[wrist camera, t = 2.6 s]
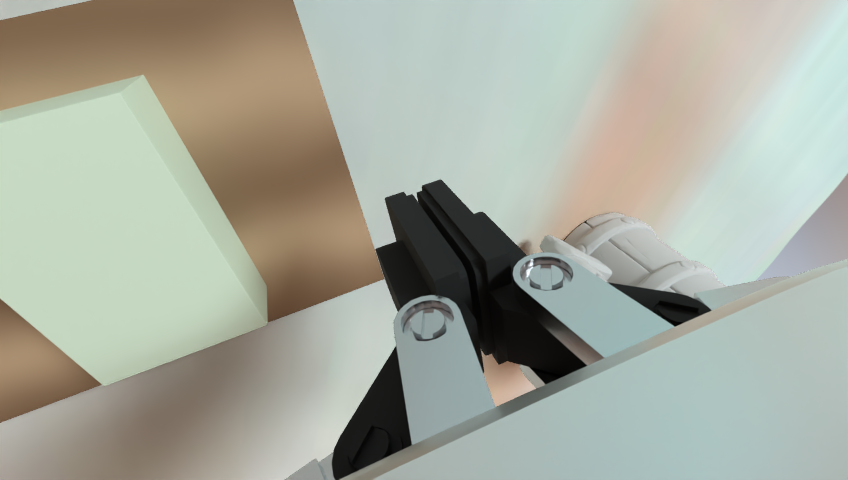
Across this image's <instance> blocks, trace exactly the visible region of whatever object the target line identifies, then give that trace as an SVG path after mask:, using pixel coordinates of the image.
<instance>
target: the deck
mask: <svg viewBox="0 0 848 480" xmlns="http://www.w3.org/2000/svg"><path fill="white" fill-rule="evenodd" d="M140 75H144V76H145V78H146V80H147V82H148V83H149V85H150V87H151V88H152V90H153V92H154V94H155V95H156V97H157V99H158V100H159V102H160V104H161V106H162V107H163V109H164V111H165V112H166V114H167V116H168V118H169V119H170V121H171V123H172V124H173V126H174V128H175V130H176V131H177V133H178V135H179V136H180V138H181V140H182V142H183V143H184V145H185V147H186V148H187V150H188V152H189V154H190V155H191V157H192V159H193V160H194V162H195V164H196V166H197V167H198V169H199V171H200V172H201V174H202V176H203V177H204V179H205V181H206V183H207V184H208V186H209V188H210V189H211V191H212V193H213V195H214V196H215V198H216V200H217V201H218V203H219V205H220V207H221V208H222V210H223V212H224V213H225V215H226V217H227V219H228V220H229V222H230V224H231V225H232V227H233V229H234V231H235V232H236V234H237V236H238V237H239V239H240V241H241V243H242V244H243V246H244V248H245V249H246V251H247V253H248V255H249V256H250V258H251V260H252V261H253V263H254V265H255V267H256V268H257V270H258V272H259V273H260V275H261V277H262V279H263V280H264V282H265V284H266V285H267V322H271V321H273V320H276V319H279V318H281V317H284V316H287V315H289V314H292V313H295V312H297V311H300V310H303V309H305V308H308V307H311V306H313V305H316V304H319V303H321V302H324V301H327V300H329V299H332V298H335V297H337V296H340V295H343V294H345V293H348V292H351V291H353V290H356V289H359V288H361V287H364V286H367V285H369V284H372V283H375V282H377V281H380V280H383V279H384V276H383V273H382V270H381V267H380V264H379V261H378V258H377V255H376V252H375V249H374V246H373V243H372V240H371V237H370V234H369V231H368V228H367V225H366V222H365V219H364V216H363V212H362V209H361V206H360V203H359V200H358V197H357V194H356V191H355V188H354V185H353V182H352V179H351V176H350V173H349V170H348V167H347V164H346V161H345V158H344V155H343V152H342V148H341V145H340V142H339V139H338V136H337V133H336V130H335V127H334V124H333V121H332V118H331V115H330V112H329V109H328V106H327V103H326V100H325V97H324V94H323V91H322V88H321V84H320V81H319V78H318V75H317V72H316V69H315V66H314V63H313V60H312V57H311V54H310V51H309V48H308V45H307V42H306V39H305V36H304V33H303V30H302V27H301V24H300V21H299V17H298V14H297V11H296V8H295V5H294V2H293V0H92V1H87V2H82V3H78V4H73V5H69V6H64V7H59V8H55V9H50V10H46V11H41V12H36V13H32V14H27V15H23V16H18V17H13V18H9V19H4V20H0V111H1V110H5V109H9V108H13V107H17V106H21V105H25V104H29V103H33V102H37V101H41V100H45V99H49V98H53V97H57V96H61V95H65V94H68V93H72V92H76V91H80V90H84V89H88V88H92V87H96V86H100V85H104V84H108V83H112V82H116V81H120V80H124V79H128V78H132V77H136V76H140ZM100 385H102V384H101V383H100V382H98V381H97V380H96V379H95V378H94V377H93V376H91V375H90V374H89V373H88V372H87V371H85V370H84V369H83V368H82V367H81V366H80V365H78V364H77V363H76V362H75V361H74V360H72V359H71V358H70V357H69V356H68V355H67V354H65V353H64V352H63V351H62V350H61V349H59V348H58V347H57V346H56V345H55V344H54V343H52V342H51V341H50V340H49V339H48V338H46V337H45V336H44V335H43V334H42V333H41V332H39V331H38V330H37V329H36V328H35V327H33V326H32V325H31V324H30V323H29V322H27V321H26V320H25V319H24V318H23V317H22V316H20V315H19V314H18V313H17V312H16V311H14V310H13V309H12V308H11V307H10V306H9V305H7V304H6V303H5V302H4V301H3V300H1V299H0V423H1V422H3V421H6V420H9V419H11V418H14V417H17V416H19V415H22V414H25V413H27V412H30V411H33V410H35V409H38V408H41V407H43V406H46V405H49V404H51V403H54V402H57V401H59V400H62V399H65V398H68V397H70V396H73V395H76V394H78V393H81V392H84V391H86V390H89V389H92V388H94V387H97V386H100Z"/></svg>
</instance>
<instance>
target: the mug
mask: <svg viewBox="0 0 848 480" xmlns="http://www.w3.org/2000/svg"><path fill="white" fill-rule="evenodd" d="M540 248H541V250H542V251H543V252H549V253H556V254H561V255H564V256H566V257H568V258H570V259H572V260H573V261H575V262H576V263H578V264H579V265H581V266H582V267H584V268H585V269H587V270H589V271H590V272H592V273H593V274H595V275H596V276H598V277H599V278H601V279H602V280H604V281H605V282H609V283H616V284H622V285H629V286H635V287H642V288H648V289H654V290H661V291H667V292H674V293H679V294H683V295H687V296H689V297H692V298H693V297H694V293H697V292H703V291H708V290H713V289H718V288H723V287H727V286H725V285H724V284H722V283H721V282H720V281H718V279H717V276H716V274H715V273H714V272H713V271H712V270H711V269H709V268H708V267H706V266H704V265H703V264H701V263H699V262H697V261H690V260H688V259H687V258H685V257H684V256H682V255H681V254H680V253H678V252H677V251H675V250H674V249H672V248H671V247H670V246H668V245H667V244H665V243H664V242H662V241H661V240H660V239H658V238H657V235H656V233H655V232H654V230H653V229H652V228H651V227H650V226H649V225H648V224H646V223H645V222H643V221H641V220H639V219H637V218H634V217H626V216H625V215H623V214H620V213H614V212H612V213H607V214H602V215H598V216H595V217H592V218H590V219H588V220H587V222H586V224H585V223H582V224H581V225H580V226H578V227H577V228H576V229H575V230H573V231H572V232H571V233H570V235H569V236H568V237H567V238H566V239H565V240H564V241H562V240H560V239H558V238H555V237H553V236H551V235H547V236H545V237H544V239H543V241H542V243H541V245H540Z"/></svg>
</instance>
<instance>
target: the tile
mask: <svg viewBox="0 0 848 480" xmlns="http://www.w3.org/2000/svg"><path fill="white" fill-rule="evenodd" d="M0 299H1V300H3V301H4V302H5V303H6V304H7V305H9V306H10V307H11V308H12V309H13V310H14V311H16V312H17V313H18V314H19V315H20V316H22V317H23V318H24V319H25V320H26V321H27V322H29V323H30V324H31V325H32V326H33V327H35V328H36V329H37V330H38V331H39V332H41V333H42V334H43V335H44V336H45V337H46V338H48V339H49V340H50V341H51V342H52V343H54V344H55V345H56V346H57V347H58V348H59V349H61V350H62V351H63V352H64V353H65V354H67V355H68V356H69V357H70V358H71V359H72V360H74V361H75V362H76V363H77V364H78V365H80V366H81V367H82V368H83V369H84V370H85V371H87V372H88V373H89V374H90V375H91V376H93V377H94V378H95V379H96V380H97V381H98V382H100V383H101V384H102V385H103V386H107V385H109V384H112V383H115V382H117V381H120V380H123V379H125V378H128V377H131V376H133V375H136V374H139V373H141V372H144V371H146V370H149V369H152V368H154V367H157V366H160V365H162V364H165V363H168V362H170V361H173V360H176V359H178V358H181V357H184V356H186V355H189V354H192V353H194V352H197V351H200V350H202V349H205V348H208V347H210V346H213V345H216V344H218V343H221V342H224V341H226V340H229V339H232V338H234V337H237V336H240V335H242V334H245V333H248V332H250V331H253V330H256V329H258V328H261V327H264V326H266V325H268V322H267V285H266V284H265V282H264V280H263V279H262V277H261V275H260V273H259V272H258V270H257V268H256V267H255V265H254V263H253V261H252V260H251V258H250V256H249V255H248V253H247V251H246V249H245V248H244V246H243V244H242V243H241V241H240V239H239V237H238V236H237V234H236V232H235V231H234V229H233V227H232V225H231V224H230V222H229V220H228V219H227V217H226V215H225V213H224V212H223V210H222V208H221V207H220V205H219V203H218V201H217V200H216V198H215V196H214V195H213V193H212V191H211V189H210V188H209V186H208V184H207V183H206V181H205V179H204V177H203V176H202V174H201V172H200V171H199V169H198V167H197V166H196V164H195V162H194V160H193V159H192V157H191V155H190V154H189V152H188V150H187V148H186V147H185V145H184V143H183V142H182V140H181V138H180V136H179V135H178V133H177V131H176V130H175V128H174V126H173V124H172V123H171V121H170V119H169V118H168V116H167V114H166V112H165V111H164V109H163V107H162V106H161V104H160V102H159V100H158V99H157V97H156V95H155V94H154V92H153V90H152V88H151V87H150V85H149V83H148V82H147V80H146V78H145V76H144V75H140V76H136V77H132V78H128V79H124V80H120V81H116V82H112V83H108V84H104V85H100V86H96V87H92V88H88V89H84V90H80V91H76V92H72V93H68V94H65V95H61V96H57V97H53V98H49V99H45V100H41V101H37V102H33V103H29V104H25V105H21V106H17V107H13V108H9V109H5V110H1V111H0Z"/></svg>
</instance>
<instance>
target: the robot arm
mask: <svg viewBox="0 0 848 480" xmlns="http://www.w3.org/2000/svg"><path fill="white" fill-rule="evenodd" d="M417 198H418V201H417V200H416V199H415V197H414V196H413V195H412V194H411V195H408V196H406V194H405V193H404V192H401V193H398V194H395V195H392V196H389V197H386V198H385V201H386V205H387V209H388V213H389V216H390V220H391V223H392V227H393V230H394V234H395V237H396V241H397V242H394V243H391V244H388V245H385V246H382V247H380V248H377V249H376V253H377V256H378V259H379V262H380V265H381V269H382V272H383V274H384V277H385V280H386V283H387V286H388V288H389V291H390V294H391V296H392V299H393V301H394V304H395V306H396V309H397V311H398V313H397V315H396V317H395V320H394V334H395V340H396V347H395V348H394V350H393V352H392V353H391V355H390V356H389V358H388V360H387V361H386V363H385V365H384V366H383V368H382V369H381V371H380V373H379V374H378V376H377V377H376V379H375V381H374V382H373V384H372V386H371V387H370V389H369V390H368V392H367V394H366V395H365V397H364V399H363V400H362V402H361V403H360V405H359V407H358V408H357V410H356V412H355V413H354V415H353V416H352V418H351V420H350V421H349V423H348V425H347V426H346V428H345V429H344V431H343V433H342V434H341V436H340V438H339V440H338V442H337V444H336V446H335V448H334V452H333V453H331V454H330V455H329V456H327V457H326V458H324V459H323V460H322V461H320V462H318V461H317V459H316V458H315V459H314V460H312V461H311V462H309V463H308V464H307V465H305V466H304V467H302V468H301V469H299V470H298V471H296V472H295V473H294V474H292V475H291V476H289V477H288V478H286V479H285V480H848V259H846V260H842V261H839V262H835V263H832V264H828V265H824V266H820V267H817V268H814V269H812V270H809V271H806V272H803V273H800V274H798V275H795V276H792V277H774V278H769V279H764V280H759V281H754V282H748V283H743V284H738V285H733V286H728V287H723V288H718V289H713V290H708V291H703V292H697V293H694V297H693V298H692V297H689V296H687V295H683V294H679V293H674V292H667V291H661V290H654V289H648V288H642V287H635V286H629V285H622V284H616V283H609V282H605V281H604V280H602V279H601V278H599V277H598V276H596V275H595V274H593V273H592V272H590V271H589V270H587V269H585V268H584V267H582V266H581V265H579V264H578V263H576V262H575V261H573V260H572V259H570V258H568V257H566V256H564V255H561V254H556V253H549V252H541V253H535V254H531V255H528V256H527V255H526V254H525V253H524V252H523V251H522V250H521V249H520V248H519V247H518V246H517V245H516V244H515V243H514V242H513V241H512V240H511V239H510V238H509V237H508V236H507V235H506V234H505V233H504V232H503V231H502V230H501V229H500V228H499V227H498V226H497V225H496V224H495V223H494V222H493V221H492V220H491V219H490V218H489V217H488V216H487V215H486V214H485V213H483V212H478V213H475V214H473V213H472V212H471V211H470V210H469V209H468V207H467V206H466V205H465V204H464V203H463V202H462V201H461V200H460V199H459V198H458V197H457V196H456V195H455V194H454V193H453V192H452V191H451V189H450V188H449V187H448V186H447V185H446V184H445V183H444V182H443V181H442V180H437V181H434V182H431V183H428V184H425V185H422V191H420V192H417ZM418 202H419V203H418ZM481 350H482V351H483V353H484V354H485V355H486V356H487V355H489V354H492V355H493V356H494V358H495V360H496V361H497V363H498V364H501V363H504V362H506V361H509V362H513V363H516V364H520V368H521V371H522V372H523V374H524V375H525V377H526V378H527V379H528V380H529V381H530V382H531V383H532V384H533V385H534V386H535V387H536V389H535V390H532V391H530V392H528V393H526V394H524V395H521V396H519V397H517V398H515V399H513V400H510V401H508V402H506V403H504V404H502V405H499V406H497V407H495V404H494V401H493V399H492V396H491V393H490V391H489V388H488V385H487V382H486V380H485V377H484V374H483V373H484V367H483V361H482V355H481Z"/></svg>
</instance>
